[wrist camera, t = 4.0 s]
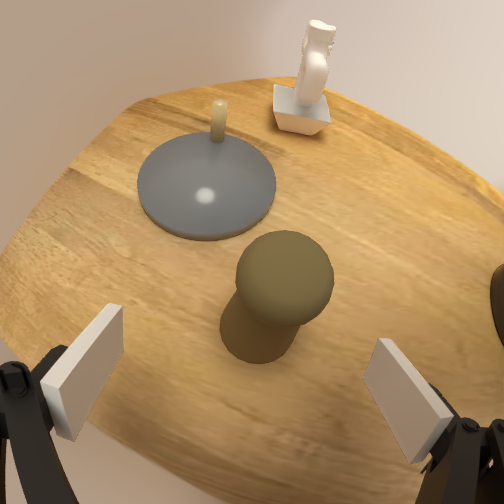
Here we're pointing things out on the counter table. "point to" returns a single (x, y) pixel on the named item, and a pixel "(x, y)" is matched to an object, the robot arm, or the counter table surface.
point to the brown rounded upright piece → (275, 295)
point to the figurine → (307, 85)
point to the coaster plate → (207, 183)
